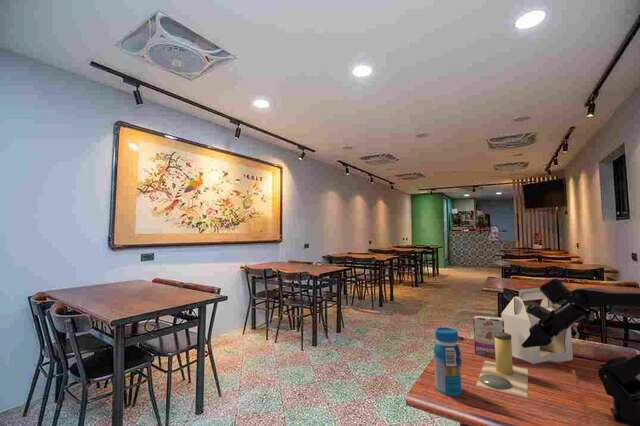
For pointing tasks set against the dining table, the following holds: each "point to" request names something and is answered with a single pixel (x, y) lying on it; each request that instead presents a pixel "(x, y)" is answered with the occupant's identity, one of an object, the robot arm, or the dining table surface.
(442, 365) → the beverage bottle
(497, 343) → the yellow cylinder
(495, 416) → the dining table surface
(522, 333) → the gable box
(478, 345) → the candy bar box
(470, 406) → the dining table surface
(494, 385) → the slate seat
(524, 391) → the base board
